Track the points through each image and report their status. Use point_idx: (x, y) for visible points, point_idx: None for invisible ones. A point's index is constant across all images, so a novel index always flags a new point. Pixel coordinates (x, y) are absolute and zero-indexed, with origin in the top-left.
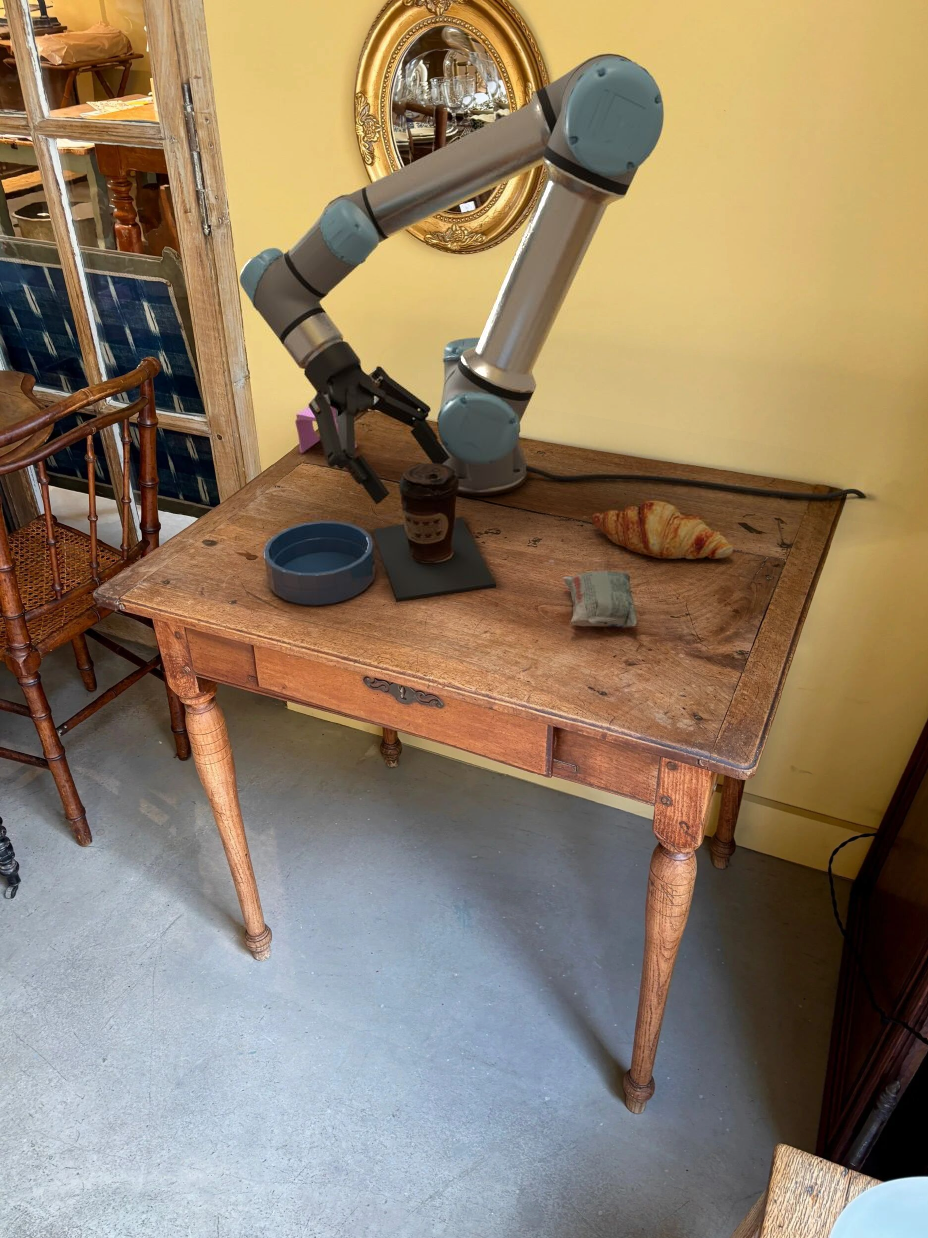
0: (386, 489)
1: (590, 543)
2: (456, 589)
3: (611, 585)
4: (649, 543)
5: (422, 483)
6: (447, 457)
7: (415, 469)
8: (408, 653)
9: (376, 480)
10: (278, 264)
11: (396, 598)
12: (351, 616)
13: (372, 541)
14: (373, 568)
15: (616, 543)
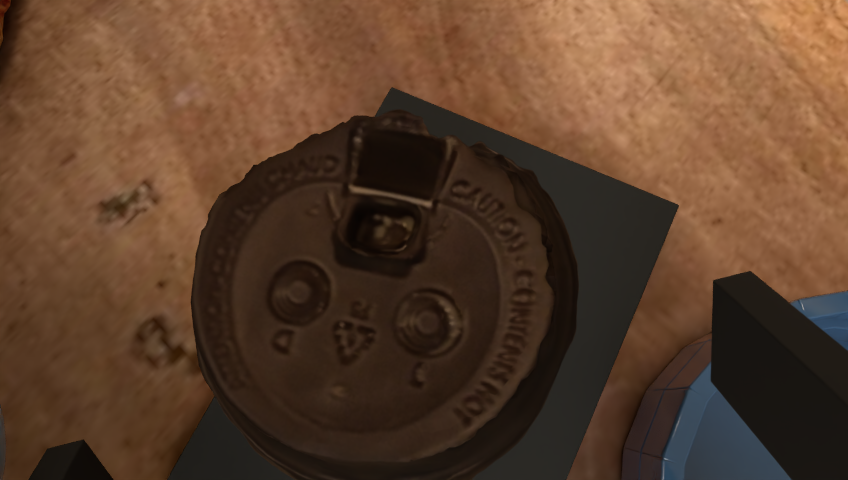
0: (739, 297)
1: (34, 99)
2: (499, 132)
3: None
4: None
5: (503, 178)
6: (63, 451)
7: (387, 409)
8: (776, 4)
9: (833, 349)
10: None
11: (678, 205)
12: (838, 234)
13: (681, 408)
14: (684, 358)
15: (2, 38)
